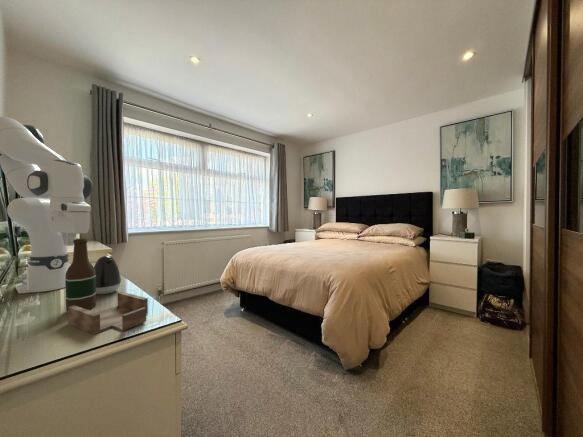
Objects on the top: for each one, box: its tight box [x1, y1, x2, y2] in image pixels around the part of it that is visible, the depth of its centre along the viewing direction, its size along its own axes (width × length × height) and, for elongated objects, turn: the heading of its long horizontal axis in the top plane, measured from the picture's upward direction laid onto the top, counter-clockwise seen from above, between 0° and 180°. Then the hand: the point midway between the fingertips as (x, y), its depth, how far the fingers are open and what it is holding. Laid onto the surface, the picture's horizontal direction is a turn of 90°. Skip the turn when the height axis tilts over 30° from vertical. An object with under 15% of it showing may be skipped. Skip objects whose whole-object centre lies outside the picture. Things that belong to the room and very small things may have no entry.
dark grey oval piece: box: [93, 255, 122, 296], centre depth 98 cm, size 10×10×15 cm
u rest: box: [67, 291, 149, 336], centre depth 73 cm, size 20×15×5 cm
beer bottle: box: [64, 238, 97, 313], centre depth 81 cm, size 8×8×24 cm
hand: (68, 245), depth 84 cm, fingers closed
